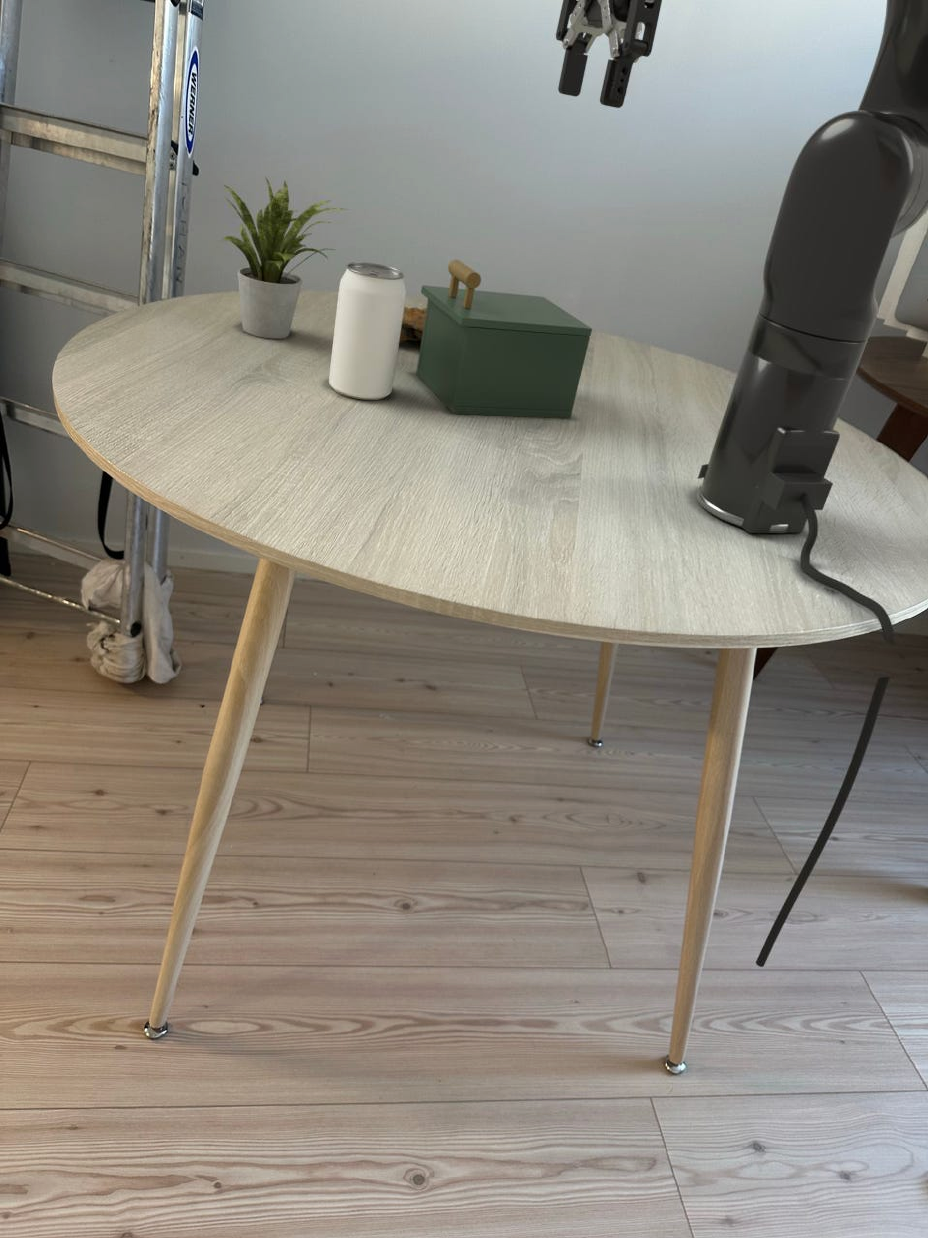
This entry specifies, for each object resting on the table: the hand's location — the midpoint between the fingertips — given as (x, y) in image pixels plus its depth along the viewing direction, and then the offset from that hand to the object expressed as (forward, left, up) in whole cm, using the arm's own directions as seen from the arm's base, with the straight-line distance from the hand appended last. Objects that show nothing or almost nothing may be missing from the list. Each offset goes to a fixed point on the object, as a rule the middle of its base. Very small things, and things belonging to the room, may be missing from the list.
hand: (588, 100), depth 95 cm
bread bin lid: (-2, +5, -21) cm, 21 cm away
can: (-2, +20, -30) cm, 36 cm away
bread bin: (-2, +5, -29) cm, 30 cm away
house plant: (+15, +25, -30) cm, 42 cm away
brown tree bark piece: (+16, +5, -30) cm, 34 cm away
